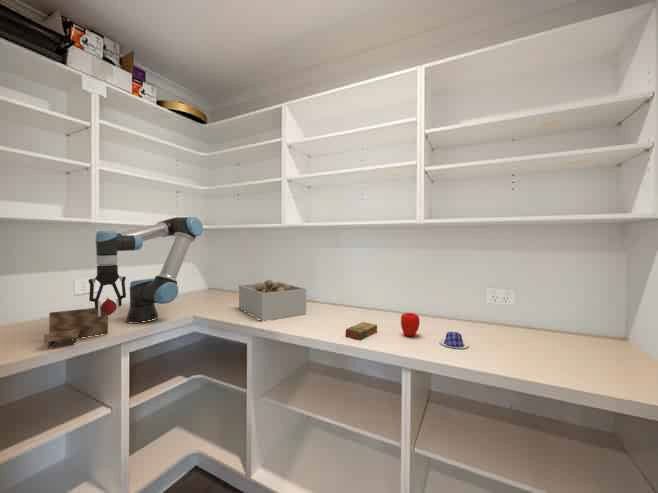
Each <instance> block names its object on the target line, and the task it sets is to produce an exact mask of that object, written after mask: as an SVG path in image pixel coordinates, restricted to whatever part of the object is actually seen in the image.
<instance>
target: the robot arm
mask: <svg viewBox="0 0 658 493" xmlns="http://www.w3.org/2000/svg"><path fill="white" fill-rule="evenodd" d="M203 231H204V227H203V223H202V221H201V219H199V218H198V217H196V216H183V217H182V216H181V217H177V216H176V217H172V218H167V219H165V220H161V221H158V222H157V223H155V224H151V225H147V226H143V227H139V228H138V227H137V228H134V229H130V230H126V231H122V232H117V231H116V230H115V231H114V230H99V231H96V233H95V249H96V252H95V253H96V255H95V256H96V276H95V277H94V278H93V277H92V278H89V279H88V283H89V298H88V300H89V302H93V303H94V308H95V309H98V317H99V316H101V305H102V303H101V301H100V300H99V299H100V297H101V293H102V292H103V288H104V286H108V285H109V286H112V288H113V291H114V292H115V295H116V297H117V299H116V302H115V303H116V307H117V308H116V315H118V314H120V312H119V307H122V299H125V298H127V293H126V283H125V281H126V279H127V277H126V276H121V275H119V268H118V267H119V266H118V252H124V251H125V252H127V251H130V252H131V251H140V250H141V249H142V247H143V243H144V242H145V241H150V240H153V239H156V238H159V237H162V238H165V237H175V238H174V240H173V243H172V245H171V247H170V249H169V252H168V254H167V257H166V258H165V261H164V263H163V265H162V268H161V270H160V272H159V274H158V275H155V276H154V278H147V279H146V278H145V279H136V280H132V281H131V282H130V285H129V309H128V312H127V314H126V317H125V318H126V319H125V322H126V323H127V322H142V321H148V320H152V319H155V318H157V317H158V318H159V314H158V311H157V308H156V306H155V304H159V305H163V304H165V305H166V304H170V303H172V302H173V301H174V300H176V299H177V297H178V295H179V291H180V290H179V286H178V280H177V277H178V276H179V275H178V274H179V272H180V269H181V267H182V265H183V262H184V260H185V257H186V255H187V253H188V250H189V248H190V245H191V243H193V242H195V240H196V237H198V236H199V237H200V236H201V235H202V233H203ZM118 280H119V281H120V282H121V290H122V292H120V291H119V288H118V286H117V284H116V282H117V281H118ZM96 281H97V282H98V283H99V284H100V285H99V288H98V291H97V293H96V297H95V298H94V294H95V293H94V289H95V288H94V286H95V283H96ZM121 293H122V295H121Z"/></svg>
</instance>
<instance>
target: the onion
mask: <svg viewBox="0 0 658 493" xmlns="http://www.w3.org/2000/svg"><path fill="white" fill-rule="evenodd" d="M101 311H102V312H103V313H104V314H106V315H108V316H111V315H112V314H113V313H114V312H115V311H117V307H116V302H115V301H114V300H112V299H110V298H109V297H106V300H105V301H103V303H101Z"/></svg>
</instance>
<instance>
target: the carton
mask: <svg viewBox="0 0 658 493" xmlns="http://www.w3.org/2000/svg"><path fill="white" fill-rule="evenodd" d="M376 333H378V325H377V324H374V323H370V322H365V321H363V322H360V323H358V324H355V325H353V326H351V327H348V328H346V329H345V337H346V338H348V339H352V340H357V341H362V340H364V339H366V338H368V337H370V336H373V335H375V334H376Z"/></svg>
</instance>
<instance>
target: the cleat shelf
mask: <svg viewBox="0 0 658 493" xmlns="http://www.w3.org/2000/svg"><path fill="white" fill-rule="evenodd" d="M79 332H80V329H74V330H66V331H59V332H51V333H49V332H48V333H44V334H43V343H47V349H51V348H50V347H53V346H54V345H53V344H55V343H56V342H55V341H58V340H65V339H72V338H73V340H72V345H73V344H74V343H76V341H77V342H78V340H79V339H78V335H79ZM77 339H78V340H77ZM76 344H77V343H76ZM74 345H75V344H74Z"/></svg>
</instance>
